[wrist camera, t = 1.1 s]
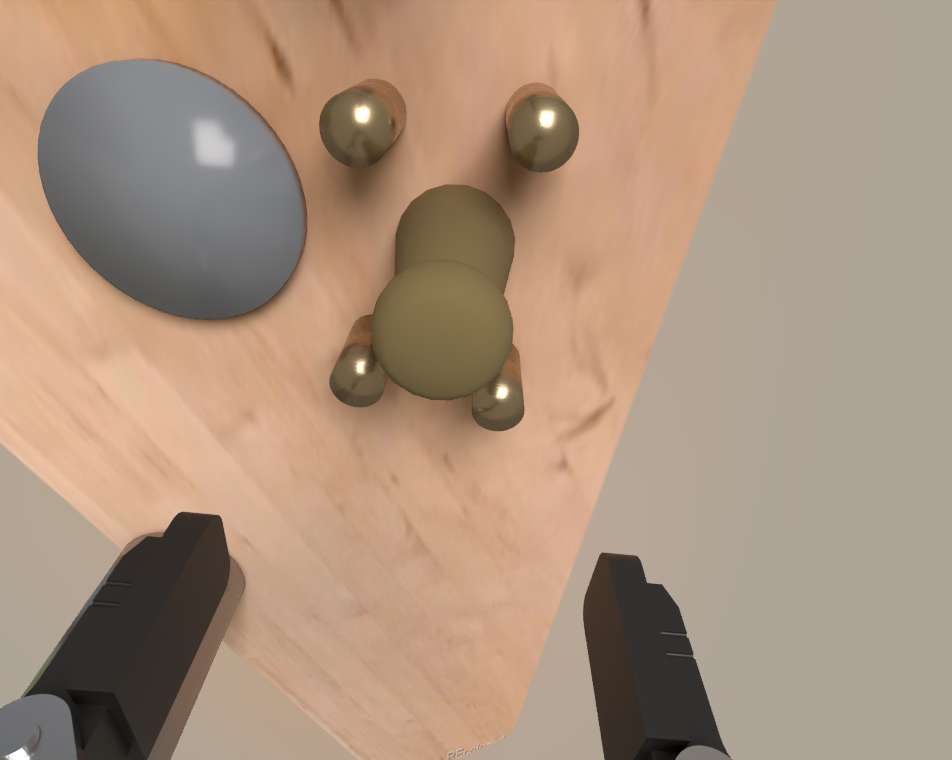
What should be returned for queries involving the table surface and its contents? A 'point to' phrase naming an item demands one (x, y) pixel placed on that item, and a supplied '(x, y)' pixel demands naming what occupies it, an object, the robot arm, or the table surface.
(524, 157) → the cylinder
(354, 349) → the cylinder
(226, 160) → the slate coaster
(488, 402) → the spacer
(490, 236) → the cork
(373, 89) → the cylinder
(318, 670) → the table surface
